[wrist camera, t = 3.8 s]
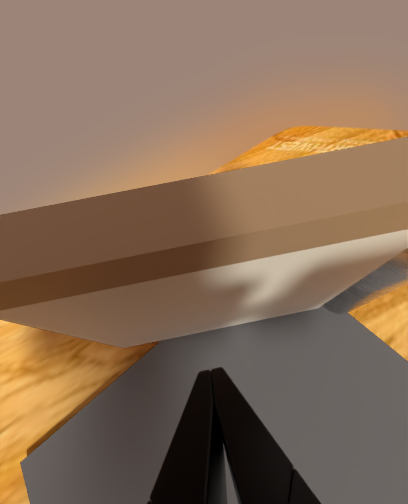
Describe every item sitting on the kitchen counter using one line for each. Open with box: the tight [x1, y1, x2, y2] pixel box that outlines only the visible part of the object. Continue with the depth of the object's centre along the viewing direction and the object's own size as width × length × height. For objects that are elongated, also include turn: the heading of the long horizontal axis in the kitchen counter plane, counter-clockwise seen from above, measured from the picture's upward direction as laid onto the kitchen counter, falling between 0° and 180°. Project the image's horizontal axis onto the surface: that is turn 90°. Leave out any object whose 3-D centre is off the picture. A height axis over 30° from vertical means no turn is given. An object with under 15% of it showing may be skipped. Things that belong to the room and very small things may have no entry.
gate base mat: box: [20, 306, 408, 504], centre depth 11 cm, size 16×20×1 cm
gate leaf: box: [0, 137, 408, 348], centre depth 9 cm, size 13×2×11 cm, turn 100°
